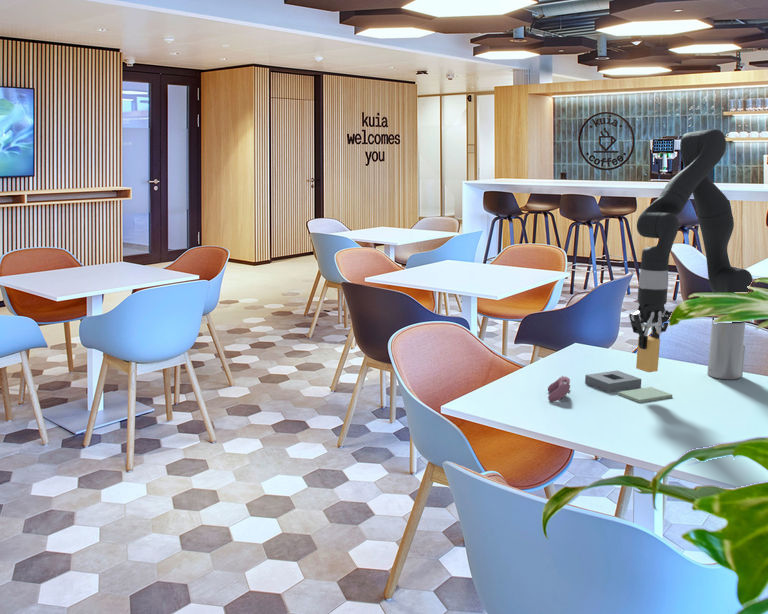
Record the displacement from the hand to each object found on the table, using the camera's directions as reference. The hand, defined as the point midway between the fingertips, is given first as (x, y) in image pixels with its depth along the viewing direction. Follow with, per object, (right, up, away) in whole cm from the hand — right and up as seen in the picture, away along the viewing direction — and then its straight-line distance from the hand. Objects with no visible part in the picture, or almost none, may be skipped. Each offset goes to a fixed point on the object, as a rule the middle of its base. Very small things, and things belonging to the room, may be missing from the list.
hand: (648, 347), depth 215 cm
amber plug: (0, -6, +1) cm, 6 cm away
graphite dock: (-6, -12, +13) cm, 18 cm away
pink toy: (-24, -14, +1) cm, 28 cm away
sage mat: (0, -14, +2) cm, 14 cm away
